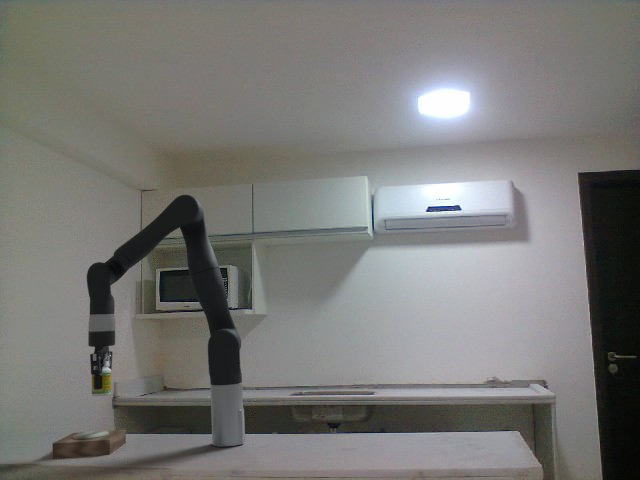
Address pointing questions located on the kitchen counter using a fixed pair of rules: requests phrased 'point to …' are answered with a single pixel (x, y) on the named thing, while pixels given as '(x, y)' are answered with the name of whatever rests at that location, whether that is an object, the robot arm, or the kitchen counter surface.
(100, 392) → the supplement bottle
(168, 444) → the kitchen counter surface
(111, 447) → the plinth
